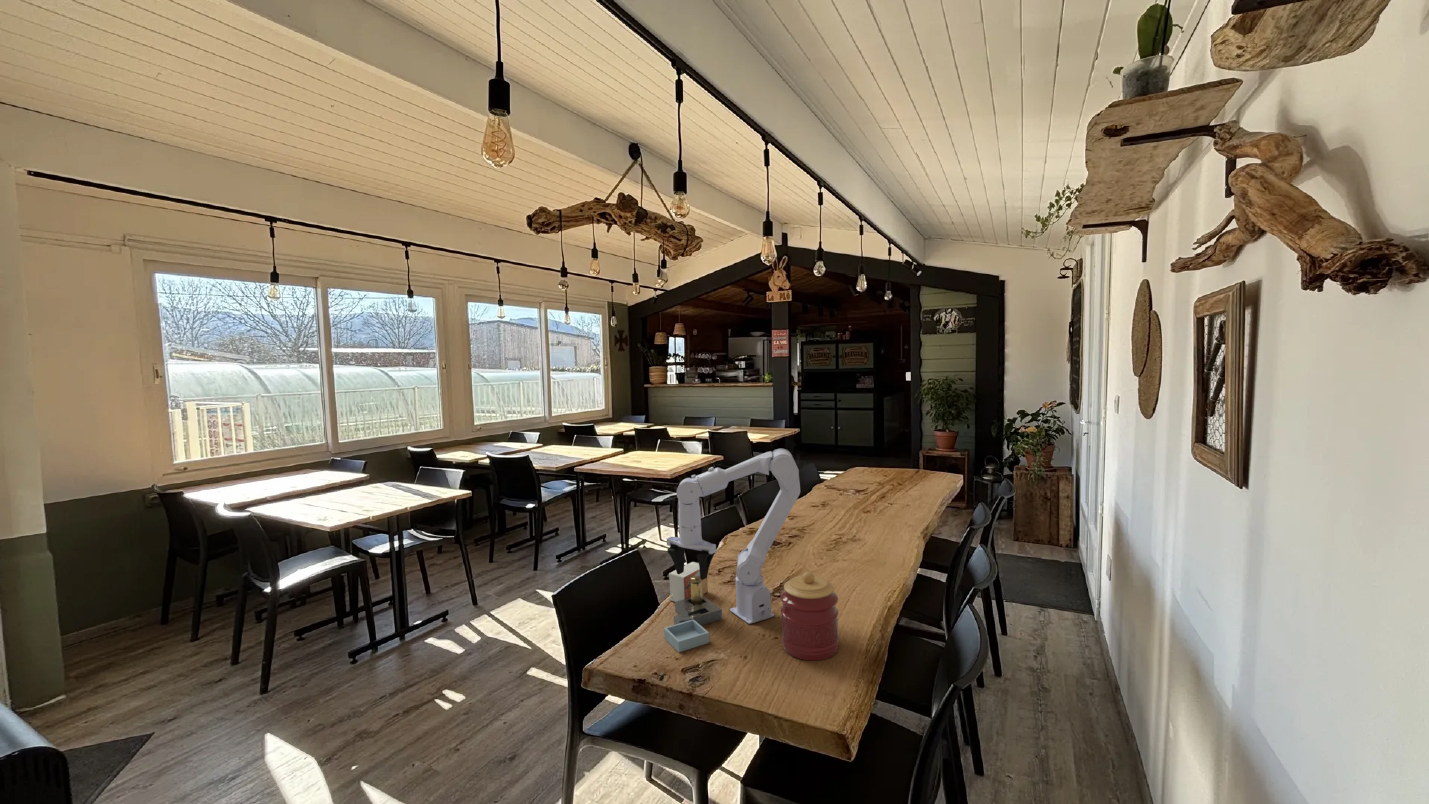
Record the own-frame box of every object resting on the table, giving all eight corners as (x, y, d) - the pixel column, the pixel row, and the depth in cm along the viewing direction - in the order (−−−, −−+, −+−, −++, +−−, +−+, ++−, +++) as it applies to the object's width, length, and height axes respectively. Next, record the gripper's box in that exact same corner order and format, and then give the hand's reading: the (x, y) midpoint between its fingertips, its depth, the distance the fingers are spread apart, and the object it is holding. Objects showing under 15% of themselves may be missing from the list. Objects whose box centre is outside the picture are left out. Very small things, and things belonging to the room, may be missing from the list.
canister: (800, 627, 137) (798, 557, 136) (849, 643, 129) (847, 569, 128) (770, 650, 127) (768, 575, 126) (821, 668, 119) (819, 588, 118)
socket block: (722, 619, 143) (721, 609, 143) (694, 627, 139) (694, 617, 139) (701, 603, 153) (701, 594, 152) (675, 611, 149) (675, 601, 149)
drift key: (704, 623, 141) (703, 614, 141) (679, 631, 138) (679, 621, 137) (698, 619, 144) (697, 609, 144) (674, 626, 140) (673, 616, 140)
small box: (708, 591, 160) (685, 605, 152) (693, 587, 164) (669, 601, 155) (707, 564, 160) (683, 577, 151) (692, 560, 163) (668, 573, 155)
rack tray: (709, 642, 132) (708, 632, 131) (678, 652, 128) (678, 641, 127) (693, 629, 138) (693, 619, 138) (664, 637, 135) (663, 628, 134)
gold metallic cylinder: (705, 611, 148) (703, 578, 147) (694, 614, 146) (693, 581, 146) (699, 607, 151) (698, 574, 150) (689, 610, 149) (688, 577, 148)
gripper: (721, 524, 145) (723, 575, 146) (677, 517, 153) (679, 565, 154) (706, 532, 139) (708, 585, 140) (660, 524, 147) (663, 574, 148)
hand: (692, 575), depth 146 cm, fingers open, 7 cm apart
